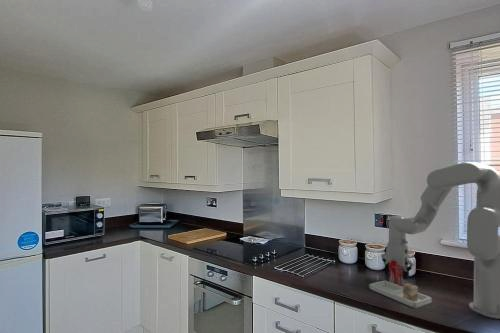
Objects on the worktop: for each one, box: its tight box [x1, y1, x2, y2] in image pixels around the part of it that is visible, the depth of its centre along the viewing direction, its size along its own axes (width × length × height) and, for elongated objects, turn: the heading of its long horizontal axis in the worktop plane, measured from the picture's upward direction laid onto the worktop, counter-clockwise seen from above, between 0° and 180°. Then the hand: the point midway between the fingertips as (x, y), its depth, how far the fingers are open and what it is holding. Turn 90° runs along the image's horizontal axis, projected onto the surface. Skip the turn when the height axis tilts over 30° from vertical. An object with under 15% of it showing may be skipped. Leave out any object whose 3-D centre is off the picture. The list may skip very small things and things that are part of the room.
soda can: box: [388, 259, 406, 286], centre depth 149 cm, size 7×7×12 cm
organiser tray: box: [368, 279, 433, 309], centre depth 133 cm, size 22×12×2 cm, turn 29°
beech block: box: [402, 283, 419, 302], centre depth 129 cm, size 4×4×6 cm
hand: (396, 275), depth 149 cm, fingers open, 9 cm apart
